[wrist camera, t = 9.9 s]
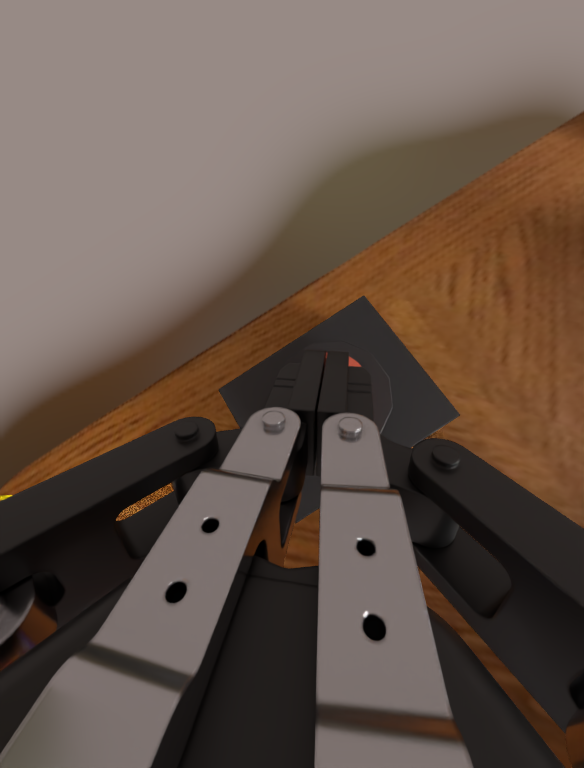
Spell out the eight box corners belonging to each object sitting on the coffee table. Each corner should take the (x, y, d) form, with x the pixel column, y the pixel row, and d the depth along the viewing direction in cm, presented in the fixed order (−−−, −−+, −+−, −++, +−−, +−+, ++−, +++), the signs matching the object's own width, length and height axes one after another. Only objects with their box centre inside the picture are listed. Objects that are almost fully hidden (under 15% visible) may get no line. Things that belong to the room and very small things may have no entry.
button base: (358, 330, 29) (366, 280, 21) (432, 426, 26) (472, 410, 18) (243, 405, 28) (207, 383, 21) (305, 510, 26) (291, 529, 18)
